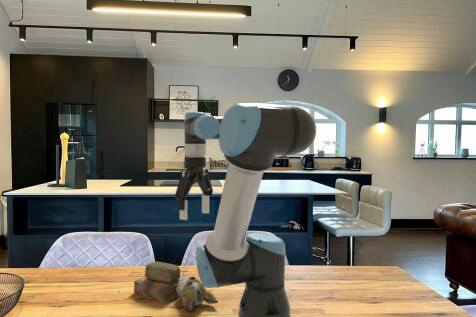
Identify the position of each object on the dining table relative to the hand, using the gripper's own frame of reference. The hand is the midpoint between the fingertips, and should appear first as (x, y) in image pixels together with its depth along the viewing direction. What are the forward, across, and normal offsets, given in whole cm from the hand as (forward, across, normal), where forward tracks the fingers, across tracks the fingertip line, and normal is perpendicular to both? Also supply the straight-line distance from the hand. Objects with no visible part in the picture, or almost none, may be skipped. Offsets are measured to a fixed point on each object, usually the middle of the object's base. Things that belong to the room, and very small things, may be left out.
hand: (195, 216), depth 127 cm
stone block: (+20, +10, -6) cm, 24 cm away
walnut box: (+24, +11, -6) cm, 27 cm away
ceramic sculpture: (+25, +12, +8) cm, 29 cm away
